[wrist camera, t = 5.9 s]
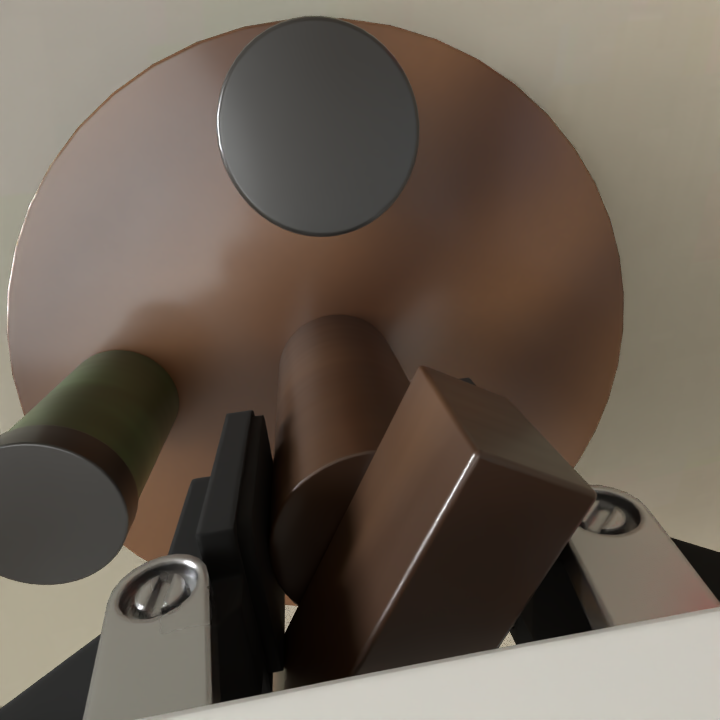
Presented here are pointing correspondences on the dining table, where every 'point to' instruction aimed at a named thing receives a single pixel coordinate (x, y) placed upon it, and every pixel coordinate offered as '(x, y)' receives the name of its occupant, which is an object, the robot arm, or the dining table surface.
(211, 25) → the dining table surface
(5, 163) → the dining table surface
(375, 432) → the rotating condiment caddy
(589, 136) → the dining table surface
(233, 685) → the robot arm
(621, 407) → the dining table surface
